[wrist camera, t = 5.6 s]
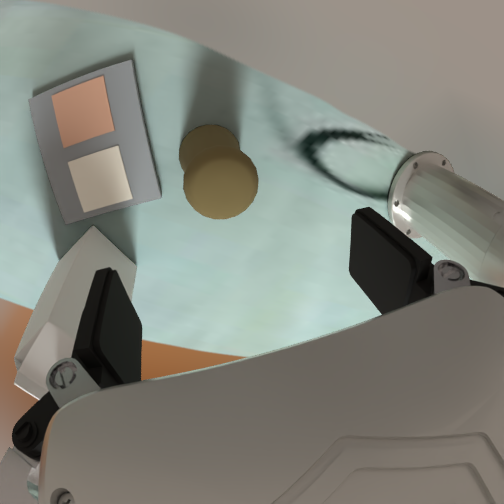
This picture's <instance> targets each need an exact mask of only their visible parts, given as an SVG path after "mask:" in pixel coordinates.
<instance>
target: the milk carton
mask: <svg viewBox="0 0 504 504" xmlns="http://www.w3.org/2000/svg"><path fill="white" fill-rule="evenodd" d="M108 267H110V268H111V269H112V270H116V271H117V272H118V274H119V277H120V279H121V281H122V283H123V285H124V288H125V290H126V292H127V294H128V296H129V298H130V301H132V294H133V288H134V282H135V276H136V271H137V266H136V265H135V264H134V263H133V262H132V261H131V260H130V259H128V258H127V257H126V256H125V255H124V254H123V253H122V252H121V251H120V250H119V249H118V248H117V247H116V246H115V245H114V244H112V243H111V242H110V241H109V240H108V239H107V238H106V237H105V236H104V235H103V234H102V233H101V232H100V231H99V230H98V229H97V228H96V227H95V226H92V227H91V228H90V229H89V230H88V231H87V232H86V233H85V234H84V235H83V236H82V237H81V238H80V239H79V240H78V241H77V242H76V243H75V244H74V245H73V246H72V248H71V249H70V250H69V251H68V252H67V253H66V254H65V255H64V256H63V257H62V259H61V260H60V261H59V262H58V263H57V265H56V267H55V269H54V271H53V273H52V275H51V277H50V278H49V280H48V282H47V284H46V286H45V288H44V290H43V292H42V294H41V296H40V298H39V301H38V303H37V305H36V307H35V309H34V311H33V313H32V316H31V318H30V320H29V323H28V325H27V327H26V330H25V332H24V334H23V337H22V339H21V342H20V344H19V347H18V349H17V352H16V354H15V357H14V360H15V364H16V368H17V375H16V378H15V381H14V384H15V385H16V386H18V387H19V388H21V389H22V390H24V391H25V392H27V393H29V394H30V395H32V396H33V397H35V398H37V399H39V400H40V399H41V398H42V397H43V396H44V395H45V394H46V393H47V392H48V391H49V390H48V388H47V385H46V376H47V373H48V371H49V370H50V368H51V367H52V366H53V365H54V364H55V363H56V362H58V361H59V360H61V359H64V358H71V356H72V351H73V347H74V343H75V338H76V334H77V330H78V327H79V323H80V319H81V315H82V312H83V310H84V307H85V304H86V300H87V297H88V294H89V290H90V287H91V284H92V281H93V278H94V274H95V272H96V270H100V269H104V268H108Z"/></svg>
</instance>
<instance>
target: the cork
mask: <svg viewBox="0 0 504 504" xmlns="http://www.w3.org/2000/svg"><path fill="white" fill-rule="evenodd" d="M179 161H180V164H181V167H182V169H183V171H184V172H185V173H184V185H183V189H184V192H185V195H186V199H187V200H188V202H189V203H190V204H191V206H192V207H193V208H194V209H195V210H196V211H197V212H199V213H200V214H202V215H203V216H205V217H209V218H212V219H228V218H231V217H235V216H237V215H239V214H240V213H242V212H243V211H245V210H246V209H247V208H248V207H249V206H250V204H251V203H252V202H253V200H254V198H255V196H256V194H257V189H258V175H257V170H256V167H255V166H254V164H253V162H252V161H251V159H250V158H249V157H248V156H247V155H246V154H244V153H243V152H242V151H241V150H240V148H239V144H238V141H237V139H236V138H235V136H234V135H233V134H232V133H231V132H230V131H229V130H227V129H226V128H224V127H221V126H218V125H204V126H200V127H197V128H195V129H194V130H192V131H191V132H189V133H188V134H187V136H186V137H185V138H184V139H183V141H182V144H181V146H180V149H179Z"/></svg>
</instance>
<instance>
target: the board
mask: <svg viewBox="0 0 504 504" xmlns="http://www.w3.org/2000/svg"><path fill="white" fill-rule="evenodd" d="M29 105H30V110H31V115H32V119H33V124H34V128H35V132H36V136H37V140H38V144H39V147H40V151H41V155H42V158H43V161H44V165H45V168H46V171H47V174H48V178H49V181H50V184H51V187H52V190H53V193H54V195H55V198H56V201H57V204H58V207H59V209H60V212H61V215H62V217H63V220H64V222H65V225H67V224H70V223H74V222H77V221H80V220H83V219H87V218H90V217H94V216H97V215H100V214H104V213H107V212H111V211H114V210H118V209H122V208H125V207H129V206H133V205H137V204H140V203H144V202H148V201H152V200H156V199H160V198H161V197H162V193H161V189H160V186H159V182H158V178H157V174H156V170H155V165H154V161H153V157H152V153H151V149H150V144H149V140H148V135H147V131H146V126H145V121H144V117H143V112H142V107H141V102H140V97H139V92H138V86H137V81H136V75H135V70H134V64H133V60H128V61H124V62H121V63H118V64H115V65H111V66H108V67H105V68H102V69H99V70H97V71H94V72H91V73H88V74H86V75H83V76H80V77H78V78H75V79H73V80H70V81H68V82H65V83H63V84H61V85H58V86H56V87H54V88H52V89H49V90H47V91H45V92H43V93H41V94H39V95H37V96H35V97H33V98H31V99H29Z"/></svg>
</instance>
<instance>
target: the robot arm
mask: <svg viewBox="0 0 504 504" xmlns="http://www.w3.org/2000/svg"><path fill="white" fill-rule="evenodd" d="M388 213H389V217H390V220H391V223H392V224H391V223H390V222H389V221H388V220H386V219H385V218H384V217H382V216H381V215H380V214H378V213H377V212H376V211H375V210H373V209H372V208H370V207H366V208H361V209H357V210H356V211H355V214H353V215H352V224H351V245H350V260H349V272H350V275H351V276H352V278H353V279H354V280H355V281H356V283H357V284H358V285H359V286H360V288H361V289H362V290H363V291H364V293H365V294H366V295H367V296H368V298H369V299H370V300H371V301H372V303H373V304H374V305H375V306H376V308H377V309H378V310H379V311H380V313H381V314H382V315H380V316H378V317H375V318H372V319H369V320H367V321H364V322H361V323H358V324H356V325H353V326H350V327H347V328H344V329H341V330H338V331H335V332H332V333H329V334H326V335H323V336H320V337H317V338H314V339H310V340H307V341H304V342H301V343H297V344H294V345H291V346H287V347H284V348H280V349H277V350H273V351H270V352H266V353H263V354H259V355H255V356H251V357H247V358H244V359H240V360H236V361H232V362H228V363H224V364H220V365H215V366H211V367H207V368H203V369H198V370H193V371H188V372H184V373H179V374H174V375H169V376H164V377H159V378H153V379H148V380H143V381H141V347H142V324H141V321H140V319H139V317H138V315H137V313H136V311H135V309H134V307H133V305H132V303H131V301H130V298H129V296H128V294H127V292H126V290H125V288H124V285H123V283H122V281H121V279H120V277H119V274H118V272H117V271H116V270H112V269H111V268H110V267H108V268H104V269H100V270H96V272H95V274H94V278H93V281H92V284H91V287H90V290H89V294H88V297H87V300H86V304H85V307H84V310H83V312H82V315H81V319H80V323H79V327H78V330H77V334H76V338H75V343H74V347H73V351H72V356H71V358H64V359H61V360H59V361H58V362H56V363H55V364H54V365H53V366H52V367H51V368H50V370H49V371H48V373H47V376H46V385H47V388H48V390H49V391H48V392H47V393H46V394H45V395H44V396H43V397H42V398H41V399H40V400H39V401H38V402H37V403H36V404H35V405H34V406H33V407H31V409H29V410H28V411H27V412H26V413H25V415H23V416H22V417H21V418H20V420H19V421H18V422H17V423H16V424H15V426H14V428H13V433H12V441H13V444H14V447H13V449H12V448H10V447H9V448H8V450H7V452H6V453H5V455H4V457H3V459H2V461H1V463H0V504H504V201H503V200H502V199H500V198H498V197H497V196H495V195H493V194H492V193H490V192H488V191H486V190H484V189H483V188H481V187H479V186H477V185H475V184H473V183H472V182H470V181H468V180H466V179H464V178H462V177H460V176H458V175H457V174H455V173H454V170H453V168H452V166H451V164H450V162H449V161H448V160H447V159H446V158H445V157H444V156H443V155H441V154H438V153H436V152H432V151H423V152H420V153H417V154H415V155H414V156H412V157H411V158H409V159H408V160H407V161H406V162H405V163H404V164H403V166H402V167H401V168H400V169H399V171H398V173H397V174H396V176H395V178H394V180H393V183H392V185H391V189H390V193H389V198H388ZM420 237H423V238H425V239H426V240H427V241H428V242H430V243H431V244H432V245H433V246H434V247H436V248H437V249H438V250H439V251H440V252H442V253H443V254H444V255H445V256H446V257H448V258H449V259H450V260H440V261H438V262H437V263H436V264H435V265H433V264H432V263H431V261H432V256H430V255H429V254H428V253H427V252H426V251H425V250H423V249H422V248H421V247H420V246H419V245H417V244H416V243H415V242H414V241H413V240H411V239H410V238H420ZM469 277H470V278H471V279H472V280H470V279H469Z"/></svg>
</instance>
